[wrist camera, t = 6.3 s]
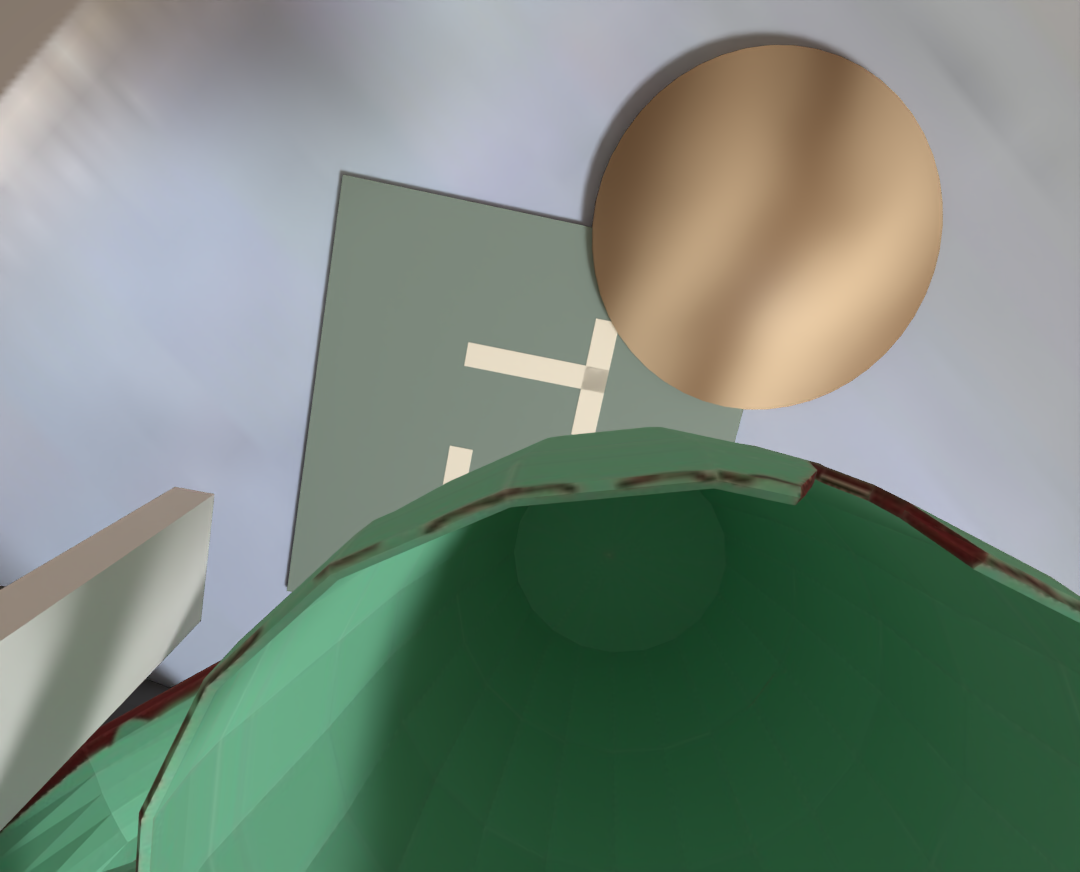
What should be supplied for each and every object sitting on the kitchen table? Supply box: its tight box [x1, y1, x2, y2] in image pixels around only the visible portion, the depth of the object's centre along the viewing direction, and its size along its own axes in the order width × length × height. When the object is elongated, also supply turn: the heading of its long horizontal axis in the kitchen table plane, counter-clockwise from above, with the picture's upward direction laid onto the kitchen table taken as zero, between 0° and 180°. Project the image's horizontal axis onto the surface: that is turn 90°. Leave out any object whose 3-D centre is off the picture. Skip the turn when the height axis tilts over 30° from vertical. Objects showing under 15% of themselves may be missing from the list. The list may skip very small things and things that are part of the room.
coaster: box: [592, 45, 943, 409], centre depth 28 cm, size 14×14×1 cm
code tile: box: [287, 175, 743, 592], centre depth 30 cm, size 18×18×1 cm
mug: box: [0, 427, 1080, 872], centre depth 11 cm, size 15×10×10 cm
